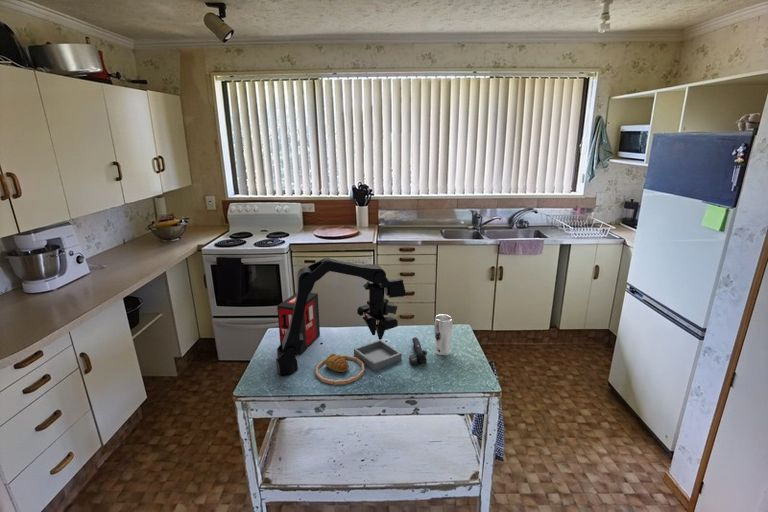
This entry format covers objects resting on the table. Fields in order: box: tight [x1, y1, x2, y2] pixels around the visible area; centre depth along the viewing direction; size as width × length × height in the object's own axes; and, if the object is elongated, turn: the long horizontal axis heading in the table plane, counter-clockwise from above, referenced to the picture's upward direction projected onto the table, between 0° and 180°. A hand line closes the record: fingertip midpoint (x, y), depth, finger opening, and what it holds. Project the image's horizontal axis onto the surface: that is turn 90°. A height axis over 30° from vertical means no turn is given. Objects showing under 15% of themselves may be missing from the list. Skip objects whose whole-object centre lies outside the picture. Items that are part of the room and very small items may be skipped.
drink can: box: [433, 313, 453, 356], centre depth 153 cm, size 7×7×15 cm
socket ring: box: [315, 354, 365, 386], centre depth 143 cm, size 17×17×1 cm
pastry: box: [324, 353, 350, 373], centre depth 144 cm, size 9×7×4 cm
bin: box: [353, 339, 403, 372], centre depth 151 cm, size 13×14×3 cm
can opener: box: [408, 337, 428, 366], centre depth 152 cm, size 18×7×6 cm, turn 0°
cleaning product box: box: [276, 292, 321, 356], centre depth 159 cm, size 16×9×20 cm, turn 162°
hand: (377, 337), depth 149 cm, fingers open, 4 cm apart
